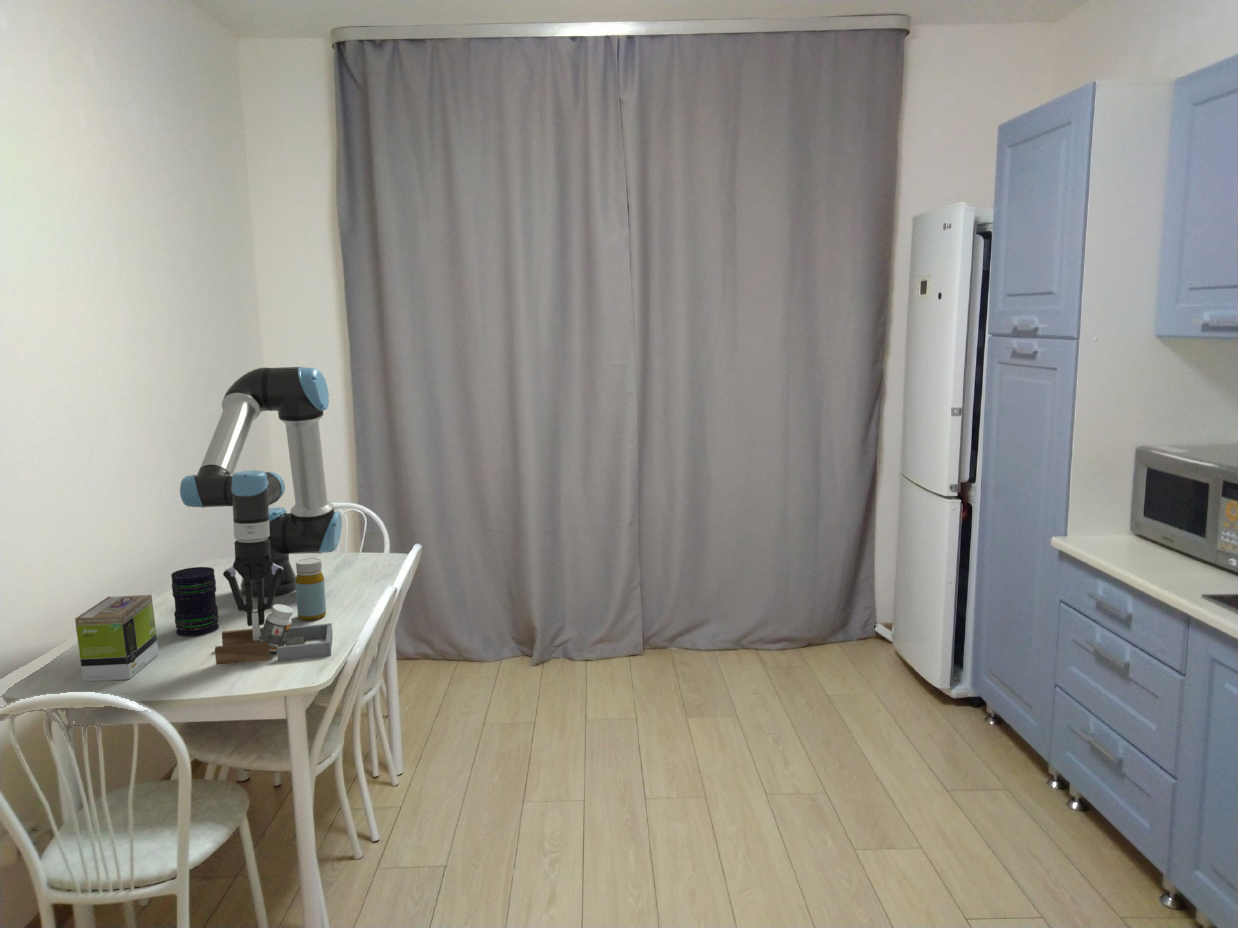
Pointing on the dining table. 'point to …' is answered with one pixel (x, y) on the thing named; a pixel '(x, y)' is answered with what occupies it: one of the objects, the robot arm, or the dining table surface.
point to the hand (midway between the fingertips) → (256, 638)
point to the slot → (240, 648)
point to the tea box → (116, 638)
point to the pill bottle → (277, 626)
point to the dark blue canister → (195, 601)
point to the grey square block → (295, 641)
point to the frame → (309, 648)
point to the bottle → (310, 589)
